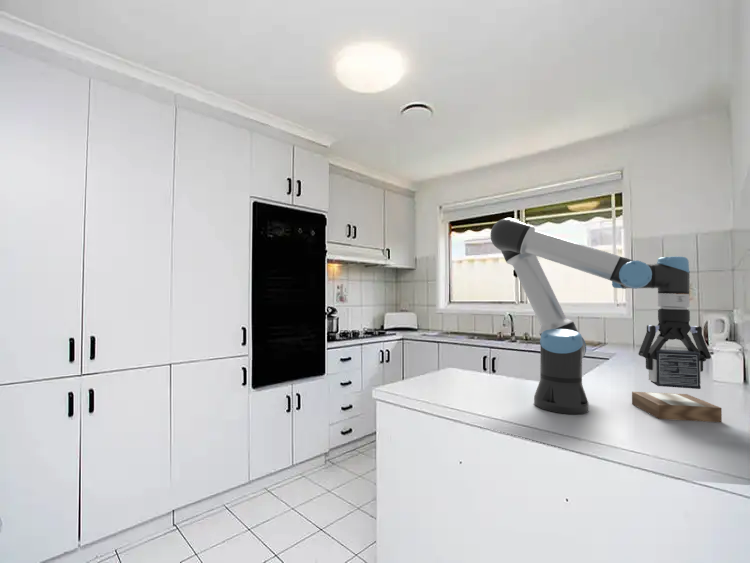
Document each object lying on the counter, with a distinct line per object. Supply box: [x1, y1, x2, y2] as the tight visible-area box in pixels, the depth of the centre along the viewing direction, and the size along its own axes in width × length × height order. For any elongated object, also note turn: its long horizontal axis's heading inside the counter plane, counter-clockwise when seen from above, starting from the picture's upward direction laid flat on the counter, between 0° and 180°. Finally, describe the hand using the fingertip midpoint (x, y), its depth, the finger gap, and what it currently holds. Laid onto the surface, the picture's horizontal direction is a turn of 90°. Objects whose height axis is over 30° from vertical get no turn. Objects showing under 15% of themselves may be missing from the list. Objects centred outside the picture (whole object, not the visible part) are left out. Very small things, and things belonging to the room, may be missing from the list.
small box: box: [650, 348, 702, 390], centre depth 113 cm, size 11×6×10 cm, turn 71°
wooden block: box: [631, 391, 723, 423], centre depth 113 cm, size 16×14×4 cm
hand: (674, 381), depth 113 cm, fingers closed on small box, 11 cm apart
